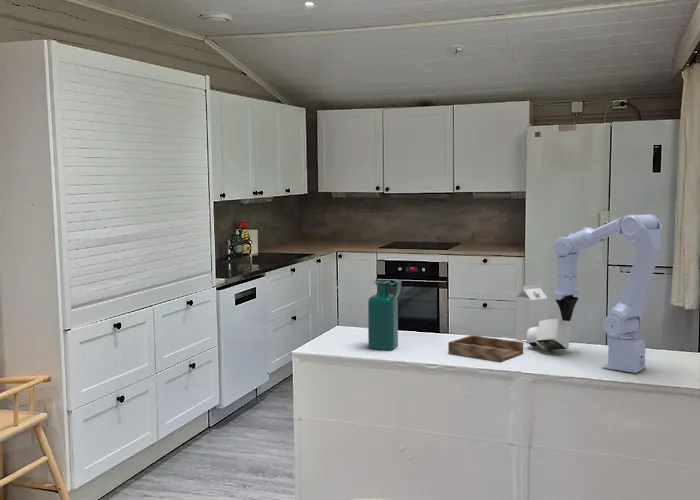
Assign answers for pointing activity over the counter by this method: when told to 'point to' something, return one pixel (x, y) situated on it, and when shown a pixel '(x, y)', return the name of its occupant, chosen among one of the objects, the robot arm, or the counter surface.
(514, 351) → the wooden tray
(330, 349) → the counter surface
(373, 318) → the pitcher
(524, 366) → the counter surface
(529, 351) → the counter surface
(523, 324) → the milk carton
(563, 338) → the medicine bottle
